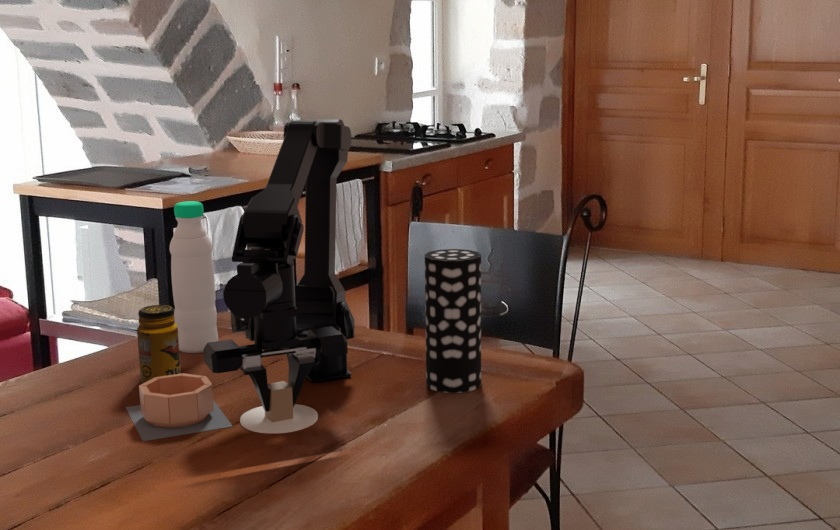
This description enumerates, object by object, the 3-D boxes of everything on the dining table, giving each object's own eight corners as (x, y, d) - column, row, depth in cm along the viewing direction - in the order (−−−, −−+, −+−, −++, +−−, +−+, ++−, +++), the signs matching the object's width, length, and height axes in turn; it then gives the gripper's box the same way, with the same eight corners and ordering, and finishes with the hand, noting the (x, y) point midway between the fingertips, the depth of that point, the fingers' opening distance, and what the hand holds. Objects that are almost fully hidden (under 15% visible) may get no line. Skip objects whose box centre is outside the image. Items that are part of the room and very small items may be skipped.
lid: (300, 405, 154) (298, 368, 153) (330, 428, 145) (329, 390, 144) (229, 419, 150) (227, 381, 148) (256, 444, 140) (254, 404, 139)
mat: (209, 398, 157) (209, 394, 157) (233, 430, 145) (232, 426, 145) (125, 411, 153) (125, 407, 153) (142, 445, 140) (142, 441, 140)
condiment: (190, 385, 163) (185, 309, 161) (136, 397, 159) (130, 318, 156) (173, 373, 169) (168, 299, 167) (120, 383, 165) (114, 308, 162)
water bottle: (168, 347, 182) (158, 202, 177) (204, 339, 187) (195, 197, 182) (190, 356, 177) (180, 207, 172) (226, 347, 182) (218, 202, 176)
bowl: (203, 401, 155) (201, 370, 154) (218, 422, 146) (216, 390, 145) (138, 411, 151) (135, 379, 150) (149, 433, 143) (147, 400, 142)
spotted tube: (452, 397, 157) (451, 263, 152) (414, 383, 163) (412, 254, 158) (492, 384, 162) (492, 254, 157) (454, 371, 168) (454, 246, 164)
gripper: (320, 278, 154) (324, 381, 158) (191, 293, 147) (198, 401, 151) (347, 295, 144) (350, 405, 148) (210, 312, 137) (216, 427, 141)
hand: (278, 408), depth 147 cm, fingers closed on lid, 3 cm apart
